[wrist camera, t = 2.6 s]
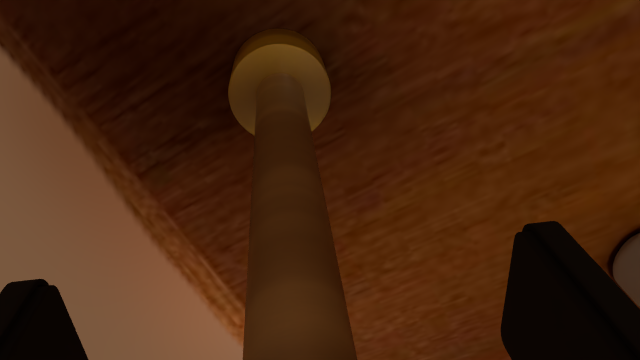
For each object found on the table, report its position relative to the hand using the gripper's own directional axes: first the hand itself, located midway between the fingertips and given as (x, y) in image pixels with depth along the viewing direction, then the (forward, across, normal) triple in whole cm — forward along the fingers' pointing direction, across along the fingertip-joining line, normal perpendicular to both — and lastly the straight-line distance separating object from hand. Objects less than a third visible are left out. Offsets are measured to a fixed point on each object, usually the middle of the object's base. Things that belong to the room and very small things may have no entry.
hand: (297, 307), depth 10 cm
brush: (+16, 0, 0) cm, 16 cm away
